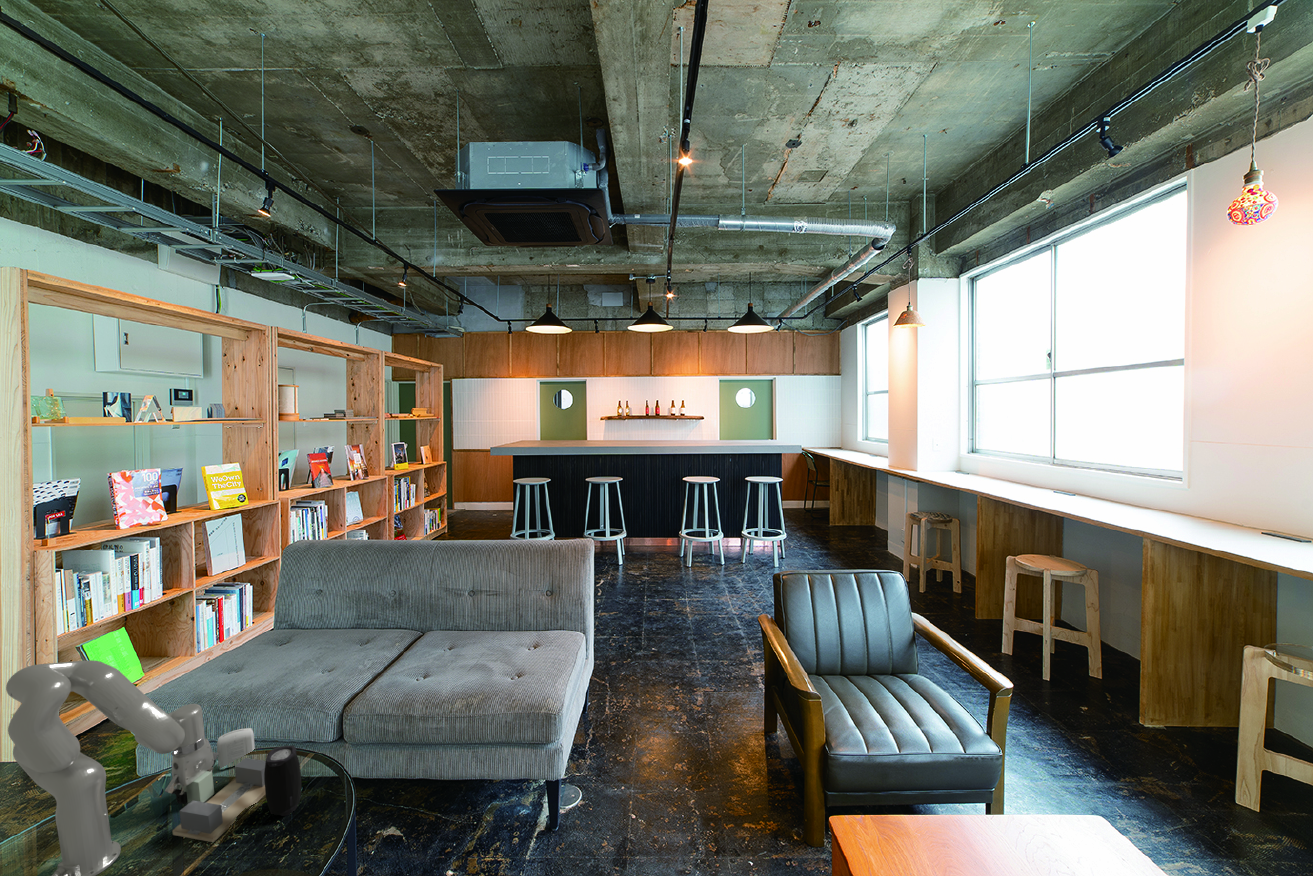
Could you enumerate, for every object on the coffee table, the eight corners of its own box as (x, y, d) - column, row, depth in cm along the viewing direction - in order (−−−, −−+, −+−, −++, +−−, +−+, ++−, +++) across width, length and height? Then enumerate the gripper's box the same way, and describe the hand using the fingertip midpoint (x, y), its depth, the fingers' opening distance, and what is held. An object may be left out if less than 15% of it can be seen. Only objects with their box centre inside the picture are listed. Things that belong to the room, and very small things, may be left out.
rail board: (213, 842, 159) (211, 820, 158) (172, 834, 161) (170, 812, 160) (280, 780, 183) (279, 760, 182) (244, 774, 185) (243, 754, 184)
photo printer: (256, 754, 194) (253, 722, 193) (255, 761, 191) (252, 729, 189) (219, 765, 189) (216, 733, 187) (218, 773, 185) (214, 740, 183)
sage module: (200, 805, 172) (198, 782, 171) (176, 800, 174) (174, 778, 172) (214, 793, 177) (212, 772, 175) (190, 789, 178) (188, 768, 177)
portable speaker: (267, 805, 173) (262, 750, 170) (301, 792, 178) (297, 739, 175) (267, 824, 166) (262, 767, 163) (303, 810, 171) (299, 754, 168)
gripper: (171, 765, 163) (178, 817, 166) (225, 727, 180) (230, 774, 183) (150, 762, 164) (157, 813, 167) (206, 724, 181) (211, 771, 184)
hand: (195, 792), depth 175 cm, fingers open, 7 cm apart
